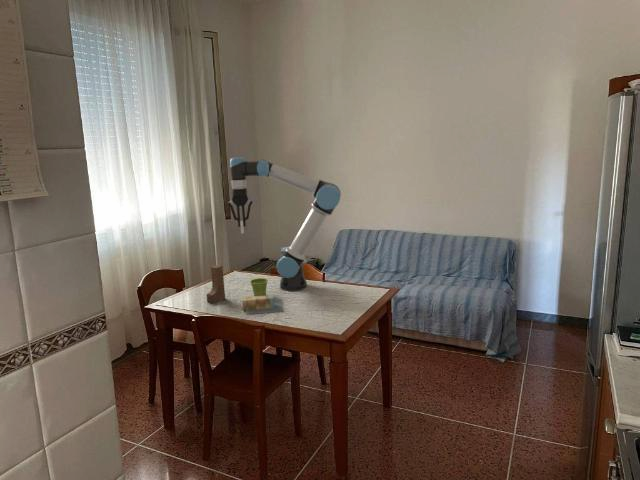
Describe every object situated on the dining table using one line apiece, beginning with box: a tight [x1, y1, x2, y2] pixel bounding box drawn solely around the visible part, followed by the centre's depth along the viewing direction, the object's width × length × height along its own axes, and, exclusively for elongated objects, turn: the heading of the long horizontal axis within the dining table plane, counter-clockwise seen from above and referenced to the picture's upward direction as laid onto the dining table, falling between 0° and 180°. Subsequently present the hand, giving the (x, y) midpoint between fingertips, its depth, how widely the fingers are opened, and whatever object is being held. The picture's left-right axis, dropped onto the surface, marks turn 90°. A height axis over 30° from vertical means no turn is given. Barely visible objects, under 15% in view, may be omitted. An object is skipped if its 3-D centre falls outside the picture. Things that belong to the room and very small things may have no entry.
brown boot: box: [206, 264, 226, 304], centre depth 245 cm, size 9×4×18 cm, turn 145°
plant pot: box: [249, 277, 269, 297], centre depth 250 cm, size 9×9×9 cm
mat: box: [245, 299, 284, 315], centre depth 233 cm, size 18×16×1 cm
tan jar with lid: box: [242, 294, 274, 311], centre depth 232 cm, size 5×5×15 cm
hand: (242, 232), depth 246 cm, fingers closed
